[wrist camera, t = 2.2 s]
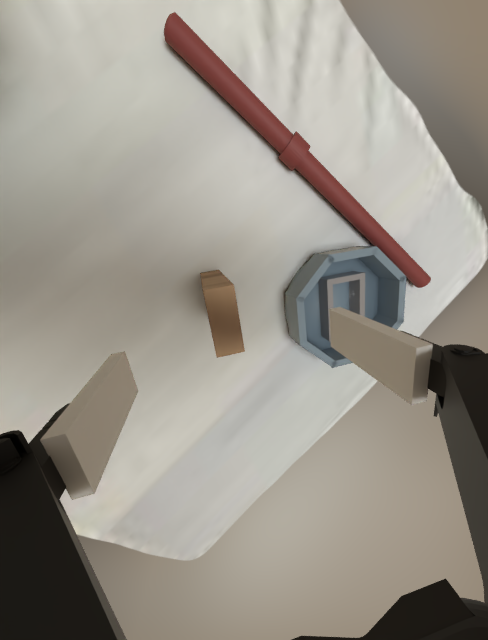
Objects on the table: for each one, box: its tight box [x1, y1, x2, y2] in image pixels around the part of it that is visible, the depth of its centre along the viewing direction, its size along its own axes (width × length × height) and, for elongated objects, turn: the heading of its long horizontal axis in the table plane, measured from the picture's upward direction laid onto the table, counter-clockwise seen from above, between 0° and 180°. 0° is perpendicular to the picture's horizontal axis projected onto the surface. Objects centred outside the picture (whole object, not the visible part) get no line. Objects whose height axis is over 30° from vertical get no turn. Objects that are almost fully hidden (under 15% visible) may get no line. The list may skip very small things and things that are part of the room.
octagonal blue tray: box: [285, 246, 406, 368], centre depth 35 cm, size 16×16×5 cm
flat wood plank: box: [200, 270, 245, 358], centre depth 26 cm, size 6×2×14 cm, turn 8°
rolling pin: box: [164, 12, 431, 288], centre depth 30 cm, size 45×3×3 cm, turn 54°
